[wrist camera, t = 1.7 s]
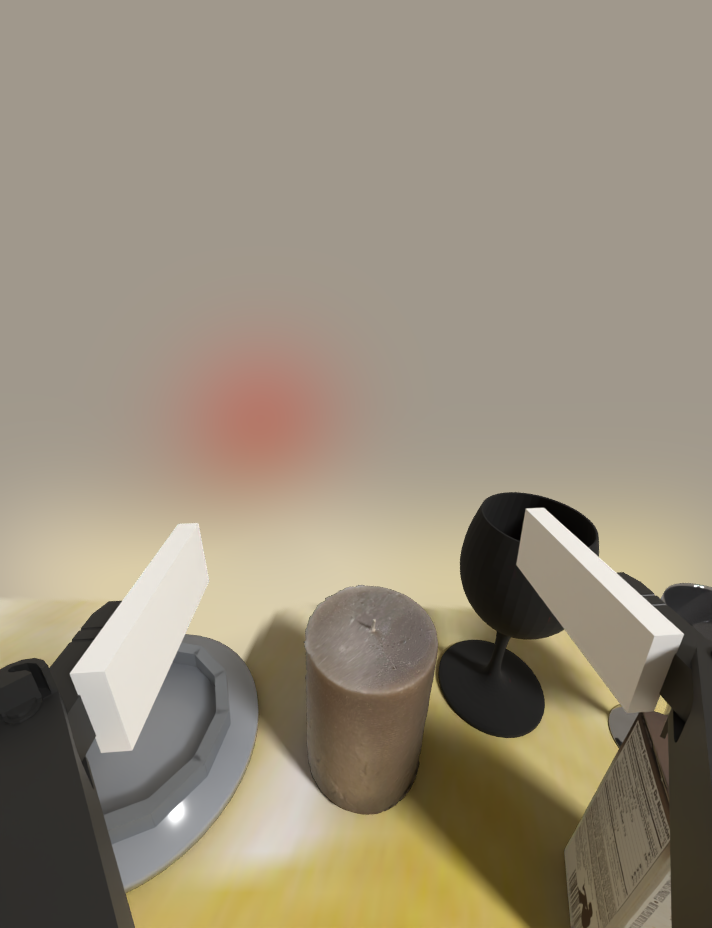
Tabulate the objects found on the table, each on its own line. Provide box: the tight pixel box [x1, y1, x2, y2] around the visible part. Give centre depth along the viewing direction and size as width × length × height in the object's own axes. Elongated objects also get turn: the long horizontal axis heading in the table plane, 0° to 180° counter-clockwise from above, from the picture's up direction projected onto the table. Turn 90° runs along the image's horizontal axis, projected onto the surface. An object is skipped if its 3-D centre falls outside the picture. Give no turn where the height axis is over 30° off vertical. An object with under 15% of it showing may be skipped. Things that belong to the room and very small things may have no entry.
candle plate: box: [86, 634, 259, 893], centre depth 32 cm, size 20×20×3 cm
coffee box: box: [564, 711, 672, 928], centre depth 20 cm, size 9×6×16 cm
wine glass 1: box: [438, 492, 599, 738], centre depth 35 cm, size 10×10×20 cm
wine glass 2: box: [608, 583, 712, 748], centre depth 31 cm, size 8×8×15 cm
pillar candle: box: [304, 585, 438, 815], centre depth 30 cm, size 10×10×15 cm
